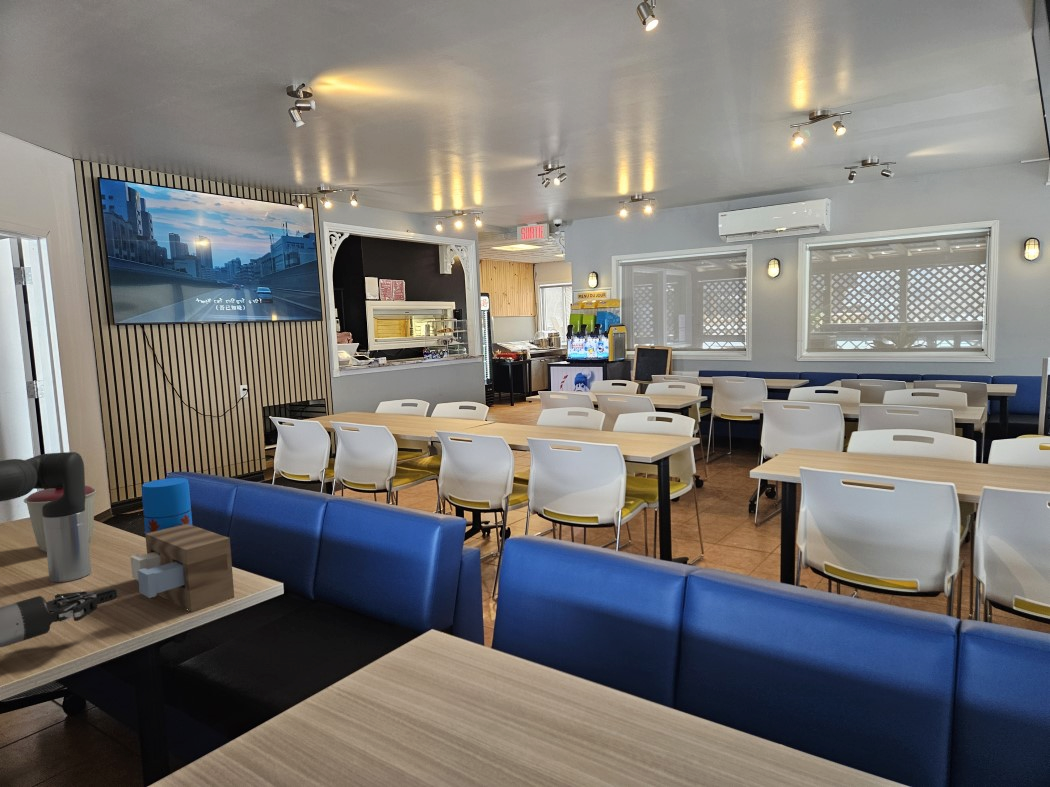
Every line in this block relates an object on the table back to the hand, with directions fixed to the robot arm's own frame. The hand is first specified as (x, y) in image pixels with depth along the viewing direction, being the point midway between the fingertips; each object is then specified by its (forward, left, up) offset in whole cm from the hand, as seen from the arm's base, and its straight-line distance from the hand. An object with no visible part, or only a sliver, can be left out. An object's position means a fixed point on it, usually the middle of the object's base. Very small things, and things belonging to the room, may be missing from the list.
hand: (115, 592), depth 139 cm
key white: (-12, +14, -3) cm, 19 cm away
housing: (-6, +18, -8) cm, 21 cm away
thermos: (-23, +21, -8) cm, 32 cm away
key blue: (0, +11, -3) cm, 12 cm away
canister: (-78, +13, -8) cm, 79 cm away
